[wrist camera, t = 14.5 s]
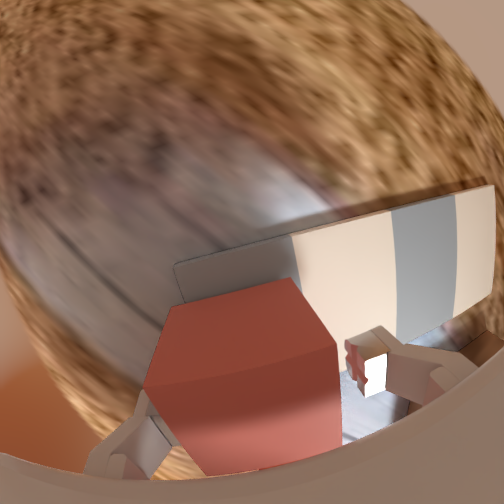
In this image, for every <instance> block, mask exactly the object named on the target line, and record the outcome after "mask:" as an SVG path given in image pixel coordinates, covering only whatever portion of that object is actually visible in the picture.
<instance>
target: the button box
mask: <svg viewBox="0 0 504 504" xmlns="http://www.w3.org/2000/svg"><path fill="white" fill-rule="evenodd" d="M503 346H504V341H503V340H501V339H500V338H498V337H497V336H495V335H494V334H492V333H491V332H489V331H488V330H487V331H485V332H484V333H483V334H482V335H480V336H479V337H478V338H476V339H475V340H474V341H472V342H471V343H469V344H468V345H467V346H465V347H464V348H462V349H461V350H460V351H458V352H459V353H461V354H462V355H463V356H465V357H466V358H467V359H468V360H470V361H471V362H472V363H473V364H475V365H476V366H477V367H478V368H479V367H480V366H482V365H483V364H484V363H485V362H486V361H488V360H489V359H490V358H491V357H492V356H493V355H495V354H496V353H497V352H498V351H499V350H500V349H501V348H502V347H503ZM420 408H422V405H421V404H418V403H416V402H413V401H411V400H410V404H409V409H408V413H407V416H408V415H410V414H411V413H413V412H415V411H417V410H418V409H420Z"/></svg>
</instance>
